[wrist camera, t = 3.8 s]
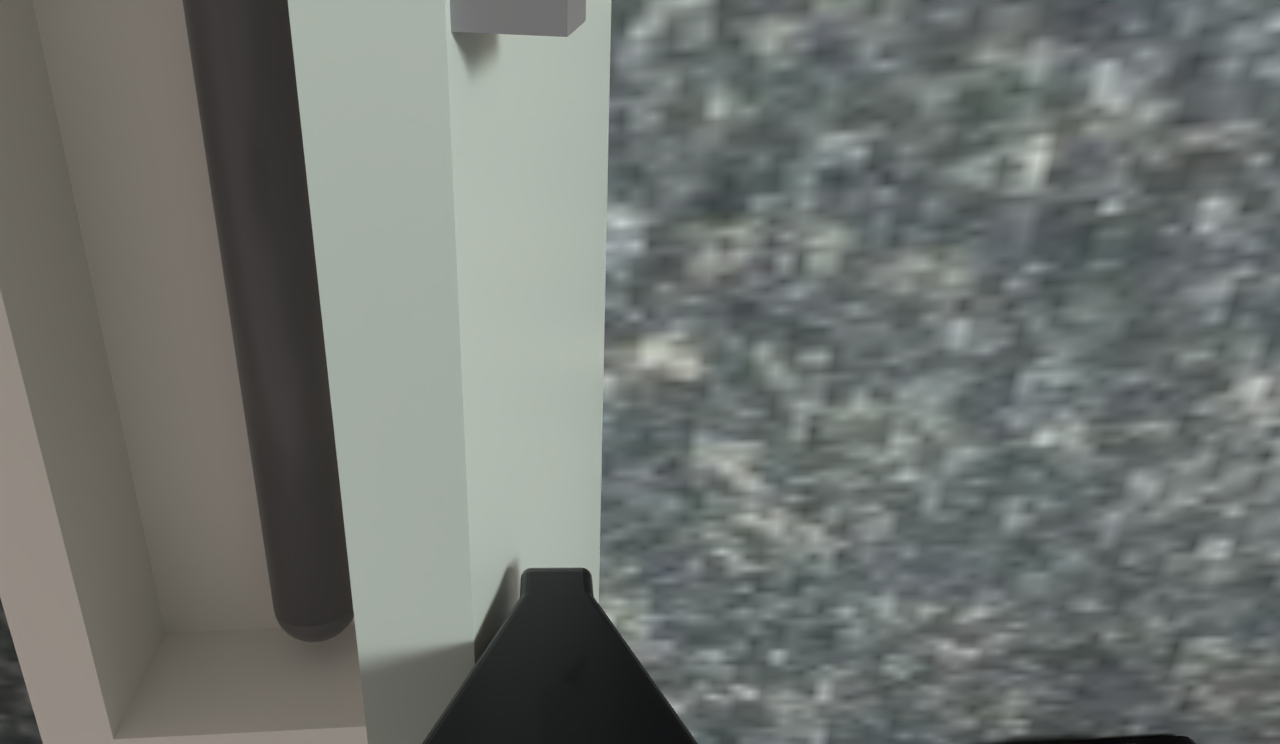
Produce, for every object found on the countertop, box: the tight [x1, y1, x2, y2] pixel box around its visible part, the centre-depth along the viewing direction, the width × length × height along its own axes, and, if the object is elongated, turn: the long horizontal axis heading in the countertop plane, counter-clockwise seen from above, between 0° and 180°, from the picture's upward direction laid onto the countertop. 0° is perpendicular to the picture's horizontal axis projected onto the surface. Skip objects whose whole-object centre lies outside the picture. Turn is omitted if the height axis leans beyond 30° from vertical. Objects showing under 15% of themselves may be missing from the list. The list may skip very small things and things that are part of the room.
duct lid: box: [288, 0, 611, 744], centre depth 11 cm, size 20×9×1 cm
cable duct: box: [0, 0, 368, 744], centre depth 16 cm, size 20×9×4 cm, turn 178°
